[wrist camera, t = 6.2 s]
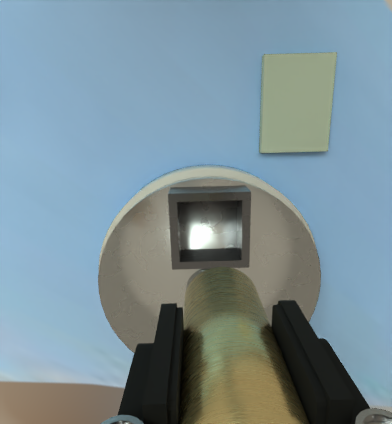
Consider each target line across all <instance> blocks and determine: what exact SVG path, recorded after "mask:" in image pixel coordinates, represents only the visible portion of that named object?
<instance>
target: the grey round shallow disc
mask: <svg viewBox="0 0 392 424" xmlns="http://www.w3.org/2000/svg"><path fill="white" fill-rule="evenodd" d="M215 267H229V268H234V269H237V270H239V271H241V272H243V273H244V274H245V275H247V276H248V277H249V278H250V279H251V280H252V282H253V283H254V285H255V287H256V290H257V292H258V295H259V297H260V300H261V302H262V305H263V307H264V310H265V312H266V315H267V318H268V320H269V323H270V325H272V307H273V305H277V303H278V301H279V300H295V301H296V302H297V304H298V306H299V307H300V309H301V311H302V312H303V314H304V316H305V317H306V319H307V321H308V322H309V321H310V319H311V316H312V314H313V312H314V310H315V307H316V304H317V301H318V297H319V291H320V280H321V271H320V263H319V257H318V254H317V250H316V247H315V244H314V242H313V240H312V238H311V235H310V233H309V232H308V230H307V229H306V227H305V226H304V224H303V222H302V221H301V220H300V219H299V218H298V217H297V215H296V214H295V213H294V212H293V211H292V210H291V209H290V208H289V207H287V206H286V205H285V204H284V203H283V202H282V201H280V200H279V199H278V198H277V197H275V196H274V195H272V194H271V193H269V192H267V191H266V190H264V189H262V188H260V187H258V186H256V185H254V184H252V183H248V182H245V181H242V180H239V179H235V178H229V177H223V176H200V177H191V178H186V179H182V180H177V181H175V182H172V183H169V184H167V185H164V186H162V187H160V188H158V189H156V190H154V191H152V192H150V193H149V194H148V195H146V196H145V197H143V198H142V199H141V200H139V201H138V202H137V203H136V204H135V205H134V206H133V207H132V208H131V209H130V210H128V212H127V213H126V214H125V215H124V216H123V218H122V219H121V220H120V221H119V223H118V224H117V225H116V226H115V228H114V230H113V231H112V233H111V235H110V236H109V238H108V240H107V243H106V245H105V248H104V250H103V253H102V257H101V261H100V265H99V275H98V284H99V295H100V299H101V304H102V307H103V310H104V313H105V316H106V318H107V320H108V322H109V323H110V325H111V327H112V329H113V330H114V332H115V333H116V334H117V336H118V337H119V339H120V340H121V341H122V342H123V343H124V344H125V345H126V346H127V347H128V348H129V349H130V350H131V351H132V352H134V353H135V350H136V347H137V344H138V343H154V339H155V334H156V329H157V324H158V319H159V313H160V308H161V304H166V303H177V307H183V319H184V301H185V293H186V290H187V287H188V285H189V284H190V282H191V281H192V280H193V279H194V278H195V277H196V276H197V275H198V274H200V273H201V272H203V271H205V270H208V269H211V268H215Z"/></svg>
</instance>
